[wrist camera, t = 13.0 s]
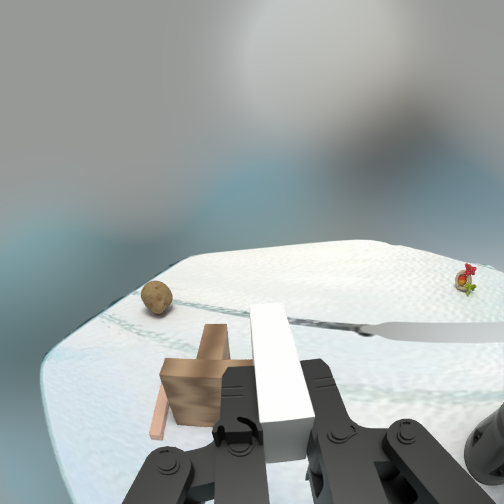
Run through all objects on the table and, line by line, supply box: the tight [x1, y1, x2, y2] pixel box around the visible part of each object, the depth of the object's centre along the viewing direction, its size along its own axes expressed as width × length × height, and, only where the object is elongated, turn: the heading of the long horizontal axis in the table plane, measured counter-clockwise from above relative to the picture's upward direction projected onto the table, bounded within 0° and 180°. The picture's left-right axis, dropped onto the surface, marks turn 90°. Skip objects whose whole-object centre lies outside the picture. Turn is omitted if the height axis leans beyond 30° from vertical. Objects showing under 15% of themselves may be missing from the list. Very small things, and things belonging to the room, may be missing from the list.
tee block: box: [159, 324, 253, 427], centre depth 45 cm, size 14×14×13 cm
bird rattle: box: [455, 263, 476, 295], centre depth 76 cm, size 6×11×9 cm
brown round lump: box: [141, 281, 172, 314], centre depth 76 cm, size 9×9×10 cm
